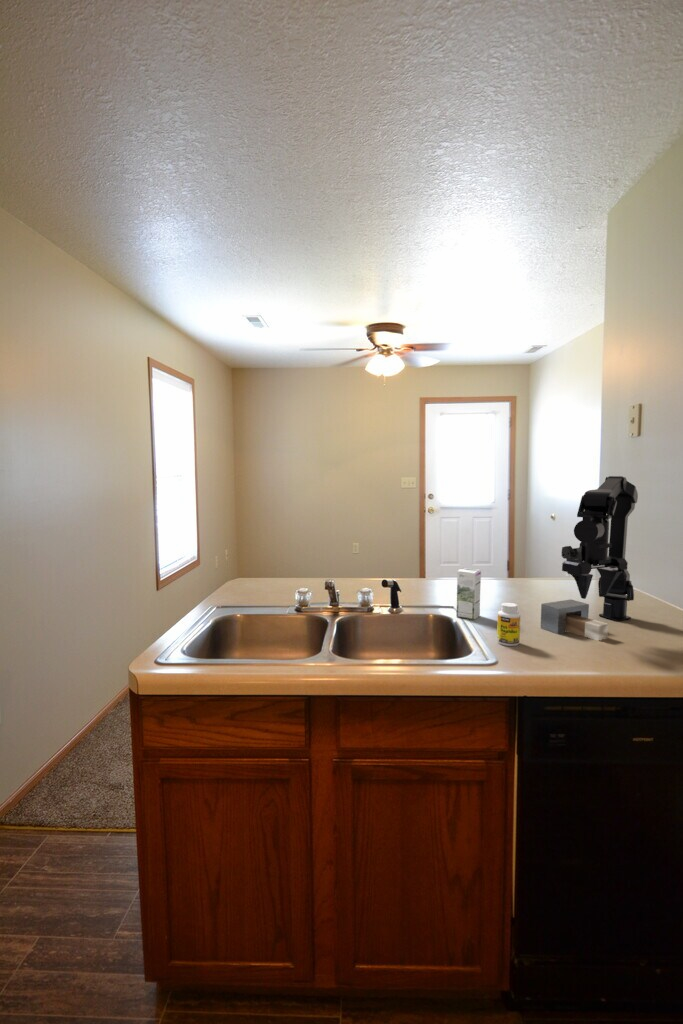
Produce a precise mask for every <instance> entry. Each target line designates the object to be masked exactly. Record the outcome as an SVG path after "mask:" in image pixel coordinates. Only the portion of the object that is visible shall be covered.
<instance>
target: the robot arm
mask: <svg viewBox="0 0 683 1024" xmlns="http://www.w3.org/2000/svg"><path fill="white" fill-rule="evenodd" d="M638 494H639V493H638V490H637V487H636V485H634V484H632V483H631V482H630V481H628V480H627V477H625V476H622V475H615V476H614V475H609V476H606V477H605V480H604V481H603V483H602V484H601V485H599V487H598V488H597V489H589V490H587V491H585V492H584V495H581V499H580V502H579V507H578V509H577V514H576V517H577V518H582V520H580V521H579V522H577V523H576V524H575V526H574V528H573V535H574V537H575V538H576V539H577V540H578V541H579V542H580V543H579V547H575V548H573V547H572V546H571V545H565V546H563V547H562V548H561V557H562V558H563V559H565V560H564V561H563V562H562V564H561V565H562V566H561V571H562V572H565V573H567V574H568V575H570V576H571V577H572V578H574V581H575V583H576V587H577V589H578V592H579V596H580V598H581V599H584V600H585V599H586V598H587V596H588V593H589V590H590V586H591V583H592V580H593V577H594V574H591V571H592V570H594V569H596V571H597V572H598V573H599V576H600V577H599V578H598V582H597V583H598V597H600V598H604V599H603V605H602V606H603V611H602V613H599V614H598V616H599V617H602V618H606V619H609V620H612V621H616V622H621V621H624V620H625V621H626V620H629V619H630V620H631V619H632V617H631V616H629V615H627V611H628V610H627V609H628V602H631V601H634V600H635V590H634V586H633V584H632V581H631V580H630V579H631V574H630V573H629V571H628V561H627V560H626V548H627V535H628V534H627V533H628V520H629V517H630V515H631V514H632V513H633V512H634V510H635V507H636V504H637V503H638Z"/></svg>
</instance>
